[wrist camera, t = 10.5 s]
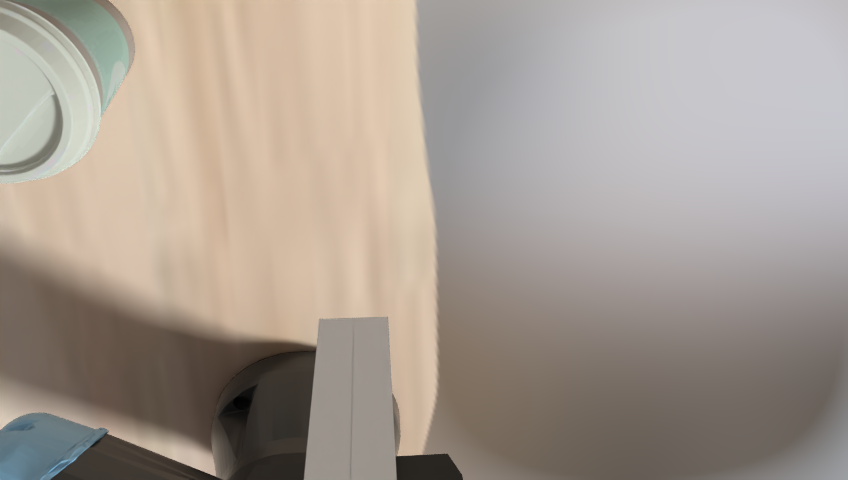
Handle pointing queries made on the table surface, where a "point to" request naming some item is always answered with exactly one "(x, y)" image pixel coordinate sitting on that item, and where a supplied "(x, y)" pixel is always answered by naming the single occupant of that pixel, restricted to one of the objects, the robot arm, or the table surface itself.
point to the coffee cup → (56, 81)
